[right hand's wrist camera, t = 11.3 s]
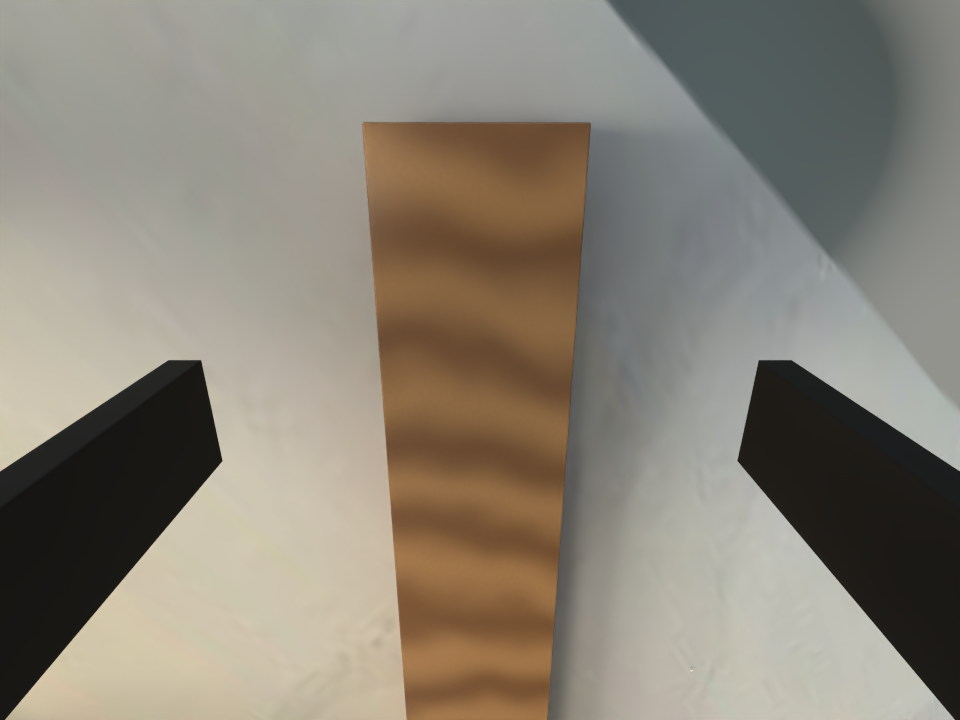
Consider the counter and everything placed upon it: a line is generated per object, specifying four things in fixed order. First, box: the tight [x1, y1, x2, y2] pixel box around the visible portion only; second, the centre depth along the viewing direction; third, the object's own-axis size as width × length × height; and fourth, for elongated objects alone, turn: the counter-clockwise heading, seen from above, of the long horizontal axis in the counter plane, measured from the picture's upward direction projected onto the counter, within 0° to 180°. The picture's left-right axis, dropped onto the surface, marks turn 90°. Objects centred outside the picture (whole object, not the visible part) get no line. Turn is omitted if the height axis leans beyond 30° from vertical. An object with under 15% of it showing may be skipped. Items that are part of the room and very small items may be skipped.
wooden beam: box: [362, 122, 591, 720], centre depth 39 cm, size 78×10×7 cm, turn 0°
